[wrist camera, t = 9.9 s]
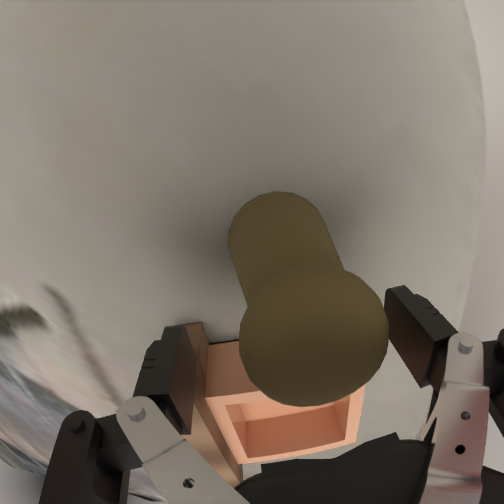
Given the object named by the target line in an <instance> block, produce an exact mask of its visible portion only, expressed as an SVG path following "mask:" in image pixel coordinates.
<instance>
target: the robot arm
mask: <svg viewBox="0 0 504 504" xmlns="http://www.w3.org/2000/svg"><path fill="white" fill-rule="evenodd" d="M384 311H385V313H386V316H387V320H388V323H389V340H390V341H391V343H392V344H393V346H394V347H395V349H396V350H397V352H398V353H399V355H400V357H401V358H402V360H403V361H404V363H405V364H406V366H407V367H408V369H409V371H410V372H411V374H412V375H413V377H414V379H415V380H416V382H417V383H418V385H419V387H420V388H422V387H425V386H428V385H430V384H431V386H432V387H433V389H432V392H431V396H430V400H429V405H428V409H427V413H426V418H425V422H424V426H423V429H422V433H421V435H420V438H419V440H411V439H407V440H399V438H398V435H397V433H396V432H395V433H392V434H389V435H386V436H383V437H380V438H377V439H374V440H371V441H367V442H365V443H363V444H361V445H359V446H358V447H356V448H354V449H352V450H350V451H348V452H346V453H344V454H342V455H340V456H338V457H336V458H333V459H293V460H287V461H281V462H274V463H267V464H261V470H262V473H259V474H256V475H254V476H252V477H250V478H248V479H246V480H244V481H243V482H241V483H240V484H238V485H237V486H235V487H234V488H233V487H232V486H231V485H230V484H228V483H227V482H226V481H225V480H224V479H223V478H222V477H221V476H220V475H219V474H218V473H217V472H216V471H215V470H214V469H213V468H212V467H211V465H210V464H209V463H208V462H207V461H206V460H205V459H204V458H203V457H202V456H201V455H200V454H199V453H198V452H197V451H196V449H195V448H194V447H193V446H192V445H191V444H190V443H189V442H188V441H187V440H186V439H183V438H182V436H181V435H191V428H192V416H193V405H194V394H195V383H196V373H197V361H196V356H195V353H194V350H193V347H192V344H191V341H190V338H189V335H188V332H187V329H186V327H185V326H184V325H177V326H168V327H165V328H164V331H163V335H162V338H161V340H157V341H154V342H153V343H152V344H151V345H150V347H149V348H148V349H147V351H146V354H145V357H144V361H143V364H142V367H141V368H142V369H141V370H140V373H139V377H138V380H137V384H136V387H135V391H134V394H133V397H132V398H130V399H128V400H126V401H125V402H123V403H122V404H121V405H120V407H119V408H118V410H117V413H116V414H114V415H110V416H106V417H102V418H98V419H95V418H94V416H93V415H92V414H91V413H90V412H88V411H84V410H79V411H75V412H73V413H71V414H69V415H68V416H67V417H66V418H65V419H64V421H63V422H62V425H61V428H60V431H59V434H58V437H57V440H56V443H55V446H54V449H53V452H52V456H51V459H50V462H49V466H48V469H47V473H46V477H45V481H44V485H43V488H42V492H41V496H40V500H39V504H127V496H128V486H129V477H130V470H131V469H135V468H140V467H143V468H144V469H145V471H146V473H147V474H148V475H149V477H150V478H151V480H152V481H153V483H154V484H155V485H156V487H157V488H158V490H159V491H160V492H161V494H162V495H163V496H164V498H165V499H166V500H167V502H168V503H169V504H504V473H501V472H499V471H496V470H493V469H491V468H488V467H486V466H483V459H484V452H485V445H486V436H487V426H488V413H490V415H491V416H492V418H493V419H494V421H495V423H496V425H497V426H498V428H499V430H500V432H501V434H502V435H503V437H504V329H502V330H501V331H500V333H499V335H498V338H497V340H494V341H486V342H481V340H480V339H479V338H478V337H476V336H475V335H473V334H470V333H464V332H463V333H458V331H457V330H456V329H455V328H454V327H453V326H452V325H451V324H450V323H449V322H448V321H447V320H446V318H445V317H444V316H443V315H442V314H440V313H439V311H438V310H437V309H436V308H434V306H433V305H432V304H431V303H430V302H429V301H428V300H427V299H426V298H424V297H422V296H420V295H418V294H415V295H414V294H413V293H412V292H411V291H410V290H409V289H408V288H407V287H406V286H405V285H402V286H397V287H393V288H389V289H387V290H386V293H385V302H384Z"/></svg>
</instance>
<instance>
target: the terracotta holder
mask: <svg viewBox="0 0 504 504" xmlns="http://www.w3.org/2000/svg"><path fill="white" fill-rule="evenodd" d="M364 391H365V384H364V385H363V386H362V387H361V388H359V389H358V390H357V391H355V392H354V393H352V394H350V395H348V396H346V397H344V398H342V399H340V400H338V401H335V402H331V403H327V404H324V405H320V406H310V407H296V406H289V405H283V404H281V403H279V402H277V401H274V400H272V399H270V398H268V397H267V396H266V395H265V394H264V393H262V392H261V391H260V390H259V389H258V388H257V387H256V386H255V385H254V384H253V383H252V382H251V381H250V380H249V377H248V375H247V373H246V370H245V368H244V365H243V363H242V360H241V357H240V355H239V341H234V342H228V343H221V344H214V345H208V358H207V372H206V386H205V399H206V402H207V404H208V406H209V408H210V410H211V412H212V414H213V416H214V418H215V420H216V422H217V424H218V427H219V429H220V431H221V433H222V434H223V436H224V438H225V440H226V442H227V444H228V446H229V448H230V450H231V452H232V454H233V456H234V458H235V459H236V461H237V463H238V464H245V463H254V462H262V461H269V460H276V459H282V458H288V457H294V456H299V455H304V454H309V453H314V452H318V451H323V450H327V449H331V448H335V447H339V446H343V445H347V444H350V443H354V442H355V441H356V437H357V431H358V426H359V421H360V415H361V410H362V403H363V397H364Z"/></svg>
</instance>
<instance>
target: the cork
mask: <svg viewBox="0 0 504 504" xmlns="http://www.w3.org/2000/svg"><path fill="white" fill-rule="evenodd" d="M228 246H229V250H230V253H231V257H232V260H233V263H234V266H235V269H236V272H237V275H238V278H239V281H240V284H241V287H242V290H243V293H244V296H245V299H246V302H247V305H248V307H247V309H246V312H245V314H244V316H243V319H242V321H241V324H240V336H239V355H240V357H241V360H242V363H243V365H244V368H245V370H246V373H247V375H248V377H249V380H250V381H251V382H252V383H253V384H254V385H255V386H256V387H257V388H258V389H259V390H260V391H261V392H262V393H264V394H265V395H266V396H267V397H268V398H270V399H272V400H274V401H277V402H279V403H281V404H283V405H289V406H296V407H310V406H320V405H324V404H327V403H331V402H335V401H338V400H340V399H342V398H344V397H346V396H348V395H350V394H352V393H354V392H355V391H357V390H358V389H359V388H361V387H362V386H363V385H364V384H366V383H367V382H368V381H369V380H370V379H371V378H372V377H373V375H374V374H375V373H376V372H377V371H378V369H379V368H380V366H381V364H382V362H383V360H384V357H385V355H386V353H387V347H388V340H389V323H388V320H387V316H386V313H385V311H384V308H383V306H382V303H381V300H380V298H379V297H378V296H377V295H376V293H375V292H374V291H373V290H372V289H371V288H370V287H369V286H368V285H367V284H366V283H365V282H364V281H363V280H362V279H361V278H360V277H358V276H356V275H354V274H352V273H351V272H348V271H345V270H344V268H343V266H342V263H341V261H340V258H339V256H338V254H337V251H336V249H335V247H334V244H333V242H332V240H331V237H330V235H329V233H328V231H327V228H326V226H325V224H324V222H323V220H322V218H321V216H320V214H319V212H318V210H317V209H316V208H315V207H314V206H313V205H312V204H311V203H310V202H308V201H307V200H306V199H305V198H302V197H300V196H298V195H295V194H293V193H286V192H272V193H267V194H263V195H259V196H258V197H256V198H254V199H253V200H251V201H249V202H248V203H246V204H245V205H244V206H243V207H242V208H241V209H240V211H239V212H238V213H237V214H236V215H235V217H234V219H233V222H232V224H231V227H230V229H229V238H228Z"/></svg>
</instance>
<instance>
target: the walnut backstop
mask: <svg viewBox="0 0 504 504" xmlns="http://www.w3.org/2000/svg"><path fill="white" fill-rule="evenodd" d="M184 326H185V327H186V329H187V332H188V335H189V338H190V341H191V344H192V347H193V350H194V353H195V356H196V361H197V373H196V383H195V394H194V405H193V416H192V428H191V435H181V436H182V438H183V439H186V440H187V441H188V442H189V443H190V444H191V445H192V446H193V447H194V448H195V449H196V451H197V452H198V453H199V454H200V455H201V456H202V457H203V458H204V459H205V460H206V461H207V462H208V463H209V464H210V465H211V467H212V468H213V469H214V470H215V471H216V472H217V473H218V474H219V475H220V476H221V477H222V478H223V479H224V480H225V481H226V482H227V483H228V484H230V485H231V486H232V487H233V488H234V487H235V486H237V485H238V484H240V483H241V482H243V470H242V464H238V463H237V461H236V459H235V458H234V456H233V454H232V452H231V450H230V448H229V446H228V444H227V442H226V440H225V438H224V436H223V434H222V433H221V431H220V429H219V427H218V424H217V422H216V420H215V418H214V416H213V414H212V412H211V410H210V408H209V406H208V404H207V402H206V399H205V386H206V372H207V358H208V345H209V343H208V340H207V337H206V334H205V331H204V328H203V325H202V322H200V323H193V324H186V325H184Z"/></svg>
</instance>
